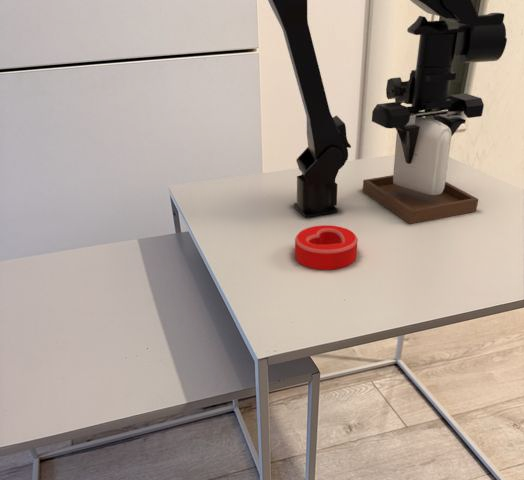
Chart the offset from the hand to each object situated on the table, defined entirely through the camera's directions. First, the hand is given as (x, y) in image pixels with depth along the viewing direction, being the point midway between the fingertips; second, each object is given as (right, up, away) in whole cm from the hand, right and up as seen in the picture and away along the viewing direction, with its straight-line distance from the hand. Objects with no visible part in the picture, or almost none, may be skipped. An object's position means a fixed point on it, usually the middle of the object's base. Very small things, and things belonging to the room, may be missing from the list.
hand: (421, 161), depth 97 cm
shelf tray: (0, -6, +4) cm, 7 cm away
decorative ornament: (-19, -19, -12) cm, 30 cm away
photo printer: (0, -4, +3) cm, 5 cm away
